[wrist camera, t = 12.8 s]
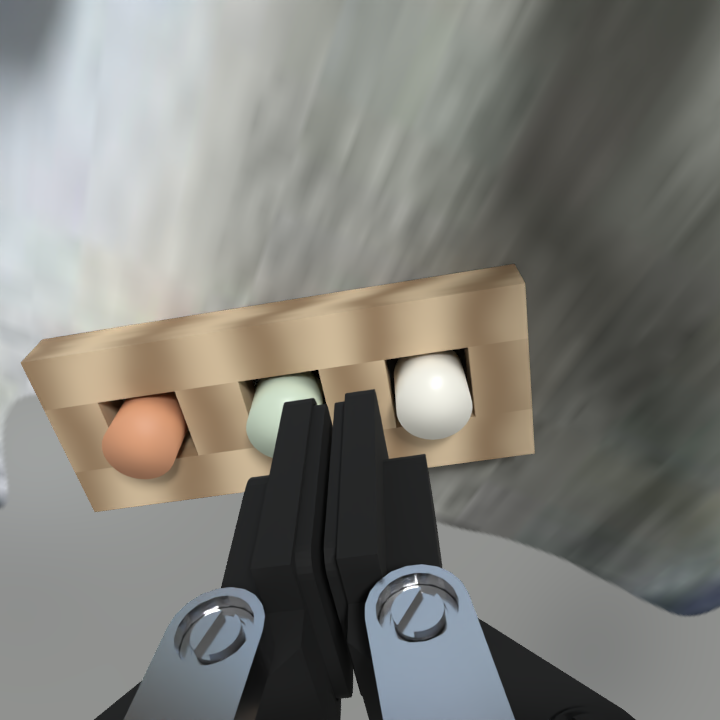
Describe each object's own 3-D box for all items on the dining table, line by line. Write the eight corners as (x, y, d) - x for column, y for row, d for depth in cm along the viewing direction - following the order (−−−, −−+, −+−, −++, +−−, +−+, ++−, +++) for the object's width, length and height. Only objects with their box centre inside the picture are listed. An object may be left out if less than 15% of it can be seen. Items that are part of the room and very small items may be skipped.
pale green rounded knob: (316, 360, 41) (311, 394, 37) (330, 417, 43) (327, 454, 39) (248, 370, 41) (237, 404, 38) (265, 426, 43) (256, 464, 40)
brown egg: (178, 380, 42) (161, 416, 38) (199, 436, 44) (184, 474, 40) (113, 390, 42) (90, 426, 38) (136, 444, 44) (117, 483, 41)
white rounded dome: (459, 338, 40) (468, 371, 36) (466, 397, 42) (475, 434, 39) (388, 349, 40) (391, 382, 37) (399, 407, 42) (402, 444, 39)
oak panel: (514, 263, 39) (525, 283, 36) (524, 426, 45) (534, 453, 42) (42, 339, 42) (20, 362, 39) (109, 483, 47) (94, 512, 45)
